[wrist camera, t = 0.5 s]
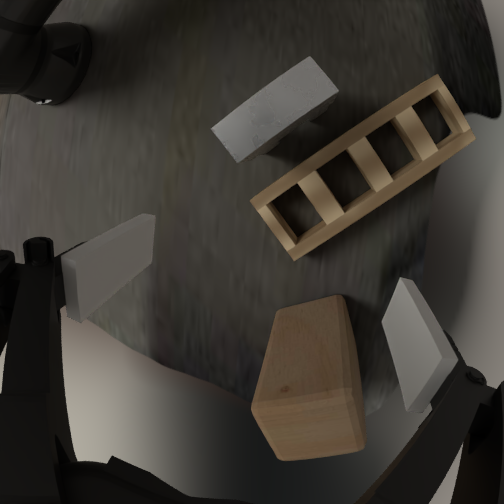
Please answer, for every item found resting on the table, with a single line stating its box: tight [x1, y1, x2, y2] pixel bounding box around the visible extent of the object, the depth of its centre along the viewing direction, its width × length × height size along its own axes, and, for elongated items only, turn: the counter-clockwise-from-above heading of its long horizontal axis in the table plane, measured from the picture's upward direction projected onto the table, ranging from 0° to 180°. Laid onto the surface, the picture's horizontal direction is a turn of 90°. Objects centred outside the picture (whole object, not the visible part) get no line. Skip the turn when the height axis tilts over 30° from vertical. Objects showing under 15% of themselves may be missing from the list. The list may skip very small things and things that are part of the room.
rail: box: [250, 74, 476, 261], centre depth 34 cm, size 9×28×4 cm, turn 128°
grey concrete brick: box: [211, 56, 339, 163], centre depth 30 cm, size 4×11×12 cm, turn 128°
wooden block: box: [251, 295, 367, 461], centre depth 35 cm, size 10×10×20 cm
